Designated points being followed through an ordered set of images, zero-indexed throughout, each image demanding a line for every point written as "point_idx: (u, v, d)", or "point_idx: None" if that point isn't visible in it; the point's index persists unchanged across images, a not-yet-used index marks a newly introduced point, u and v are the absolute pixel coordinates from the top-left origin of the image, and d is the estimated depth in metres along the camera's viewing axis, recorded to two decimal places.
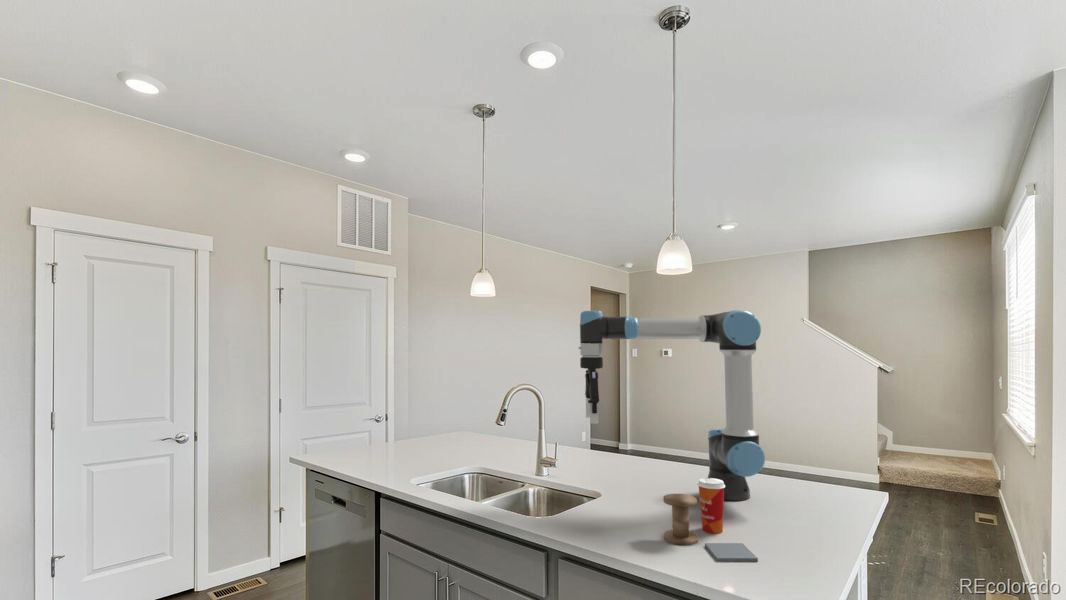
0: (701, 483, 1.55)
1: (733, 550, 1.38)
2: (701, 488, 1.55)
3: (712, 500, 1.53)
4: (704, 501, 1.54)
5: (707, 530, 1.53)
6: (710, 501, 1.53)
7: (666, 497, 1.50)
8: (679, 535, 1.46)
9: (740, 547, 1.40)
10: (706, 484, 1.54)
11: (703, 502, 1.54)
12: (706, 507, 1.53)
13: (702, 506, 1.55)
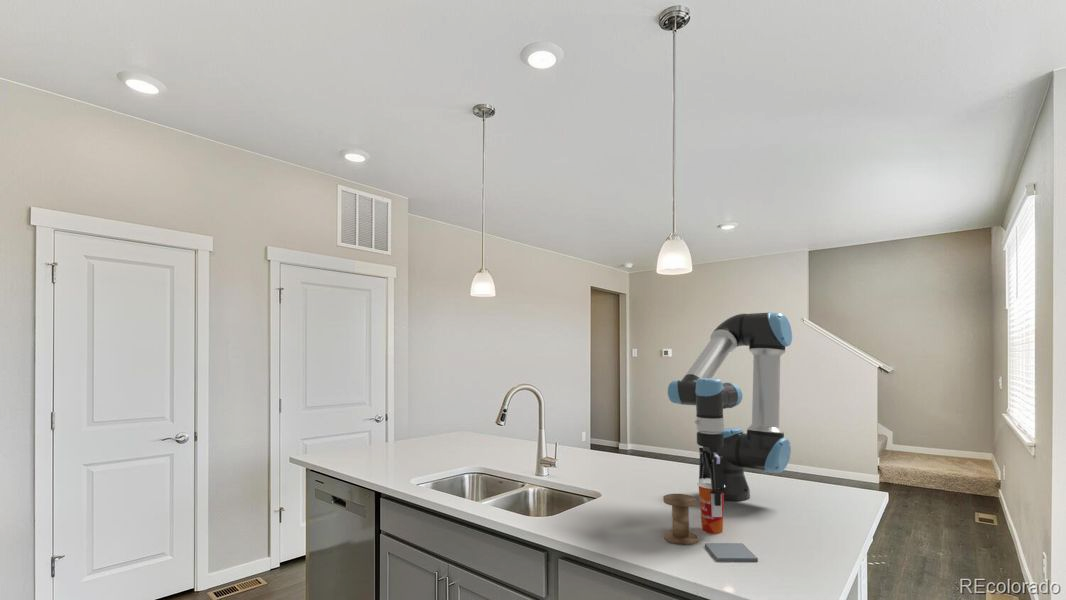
0: (701, 483, 1.55)
1: (733, 550, 1.38)
2: (701, 488, 1.55)
3: None
4: (704, 501, 1.54)
5: (707, 530, 1.53)
6: (710, 501, 1.53)
7: (666, 497, 1.50)
8: (679, 535, 1.46)
9: (740, 547, 1.40)
10: (706, 484, 1.54)
11: (703, 502, 1.54)
12: (706, 507, 1.53)
13: (702, 506, 1.55)
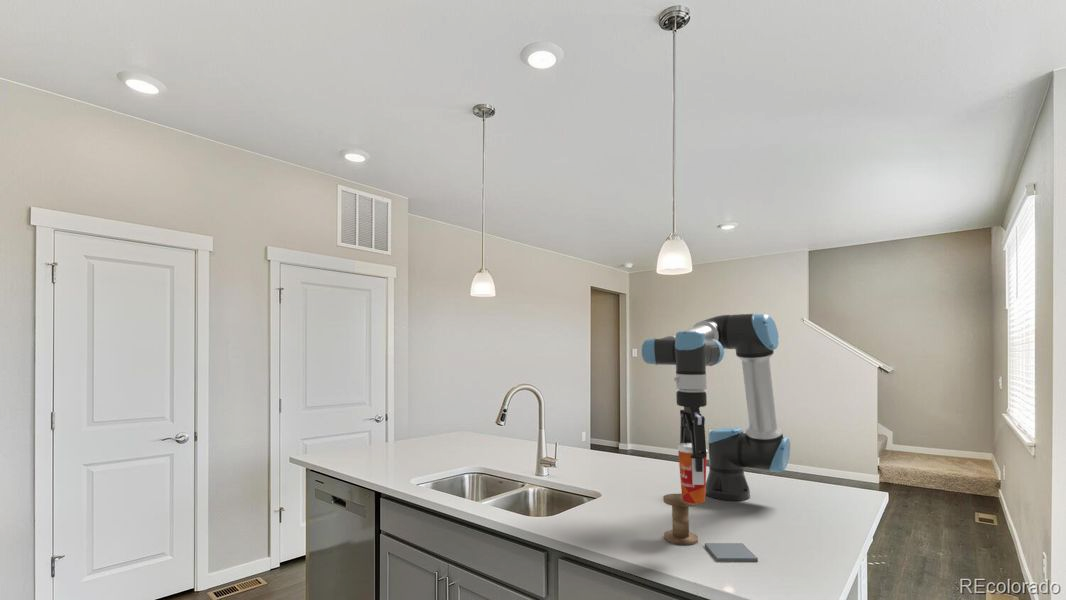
0: (681, 447, 1.38)
1: (733, 550, 1.38)
2: (681, 453, 1.38)
3: None
4: (684, 467, 1.37)
5: (687, 500, 1.36)
6: (690, 467, 1.36)
7: (666, 497, 1.50)
8: (679, 535, 1.46)
9: (740, 547, 1.40)
10: (686, 448, 1.37)
11: (683, 469, 1.37)
12: (686, 474, 1.36)
13: (682, 473, 1.38)
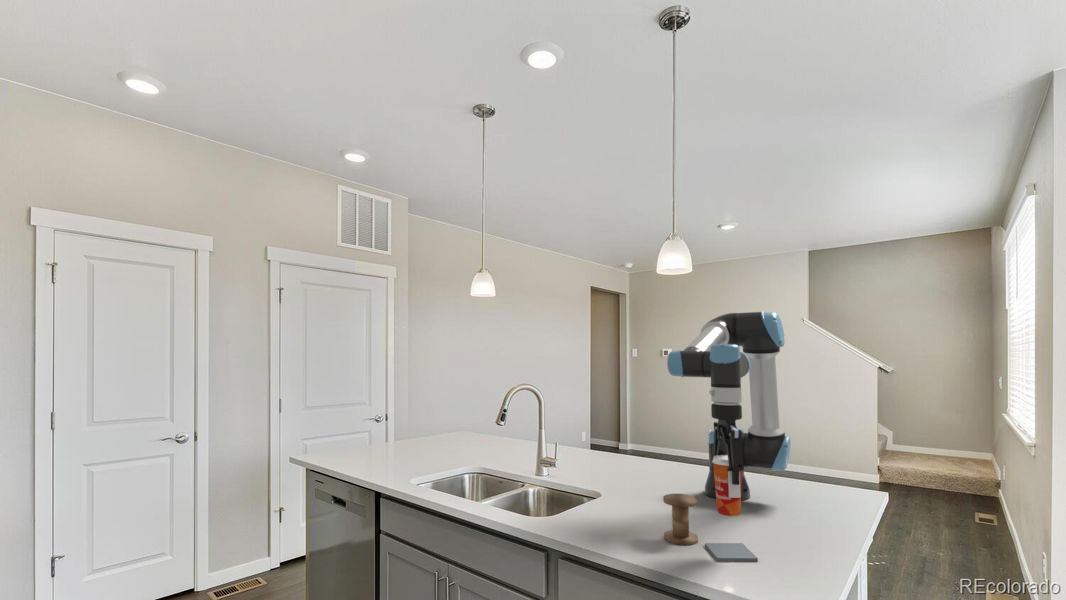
0: (716, 460, 1.39)
1: (733, 550, 1.38)
2: (716, 465, 1.39)
3: None
4: (720, 480, 1.38)
5: (723, 512, 1.37)
6: (726, 480, 1.37)
7: (666, 497, 1.50)
8: (679, 535, 1.46)
9: (740, 547, 1.40)
10: (722, 461, 1.37)
11: (719, 481, 1.38)
12: (722, 486, 1.37)
13: (717, 485, 1.38)
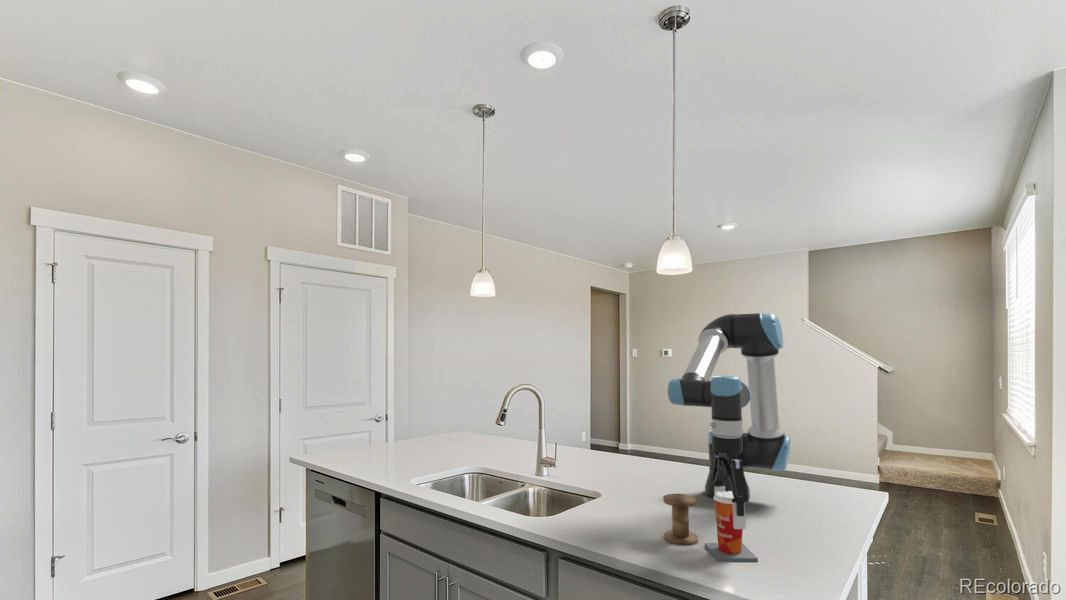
0: (718, 497, 1.38)
1: None
2: (718, 503, 1.38)
3: (730, 516, 1.36)
4: (721, 518, 1.37)
5: (724, 550, 1.36)
6: (727, 518, 1.36)
7: (666, 497, 1.50)
8: (679, 535, 1.46)
9: None
10: (723, 498, 1.37)
11: (720, 519, 1.37)
12: (723, 524, 1.37)
13: (719, 523, 1.38)
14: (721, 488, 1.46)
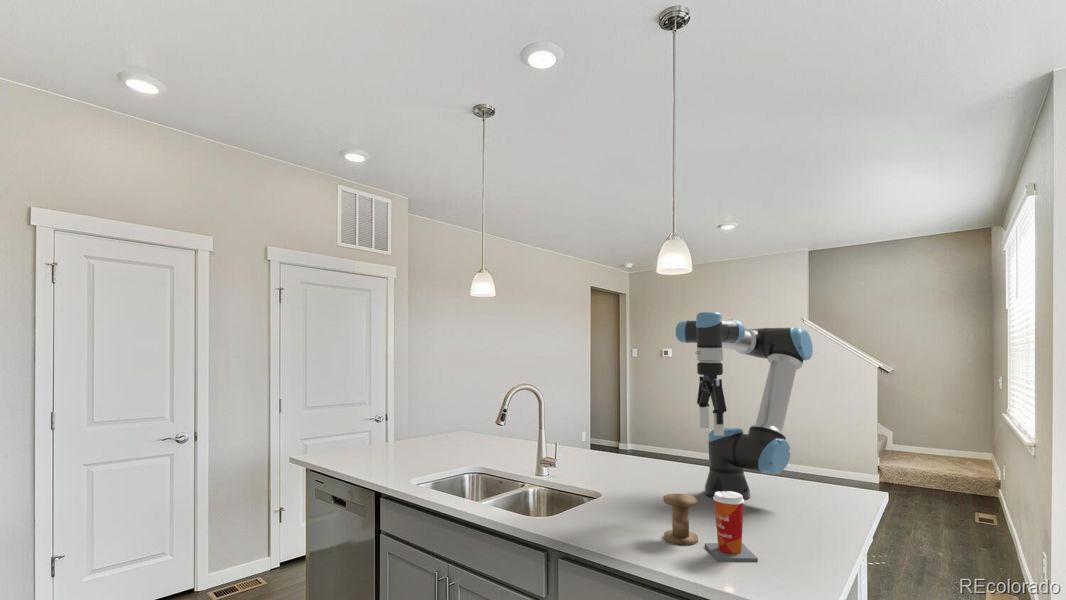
0: (717, 497, 1.38)
1: None
2: (717, 503, 1.38)
3: (729, 516, 1.36)
4: (721, 518, 1.37)
5: (724, 550, 1.36)
6: (727, 518, 1.36)
7: (666, 497, 1.50)
8: (679, 535, 1.46)
9: None
10: (723, 498, 1.37)
11: (720, 519, 1.37)
12: (723, 524, 1.37)
13: (718, 523, 1.38)
14: (705, 408, 1.72)
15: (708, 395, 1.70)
